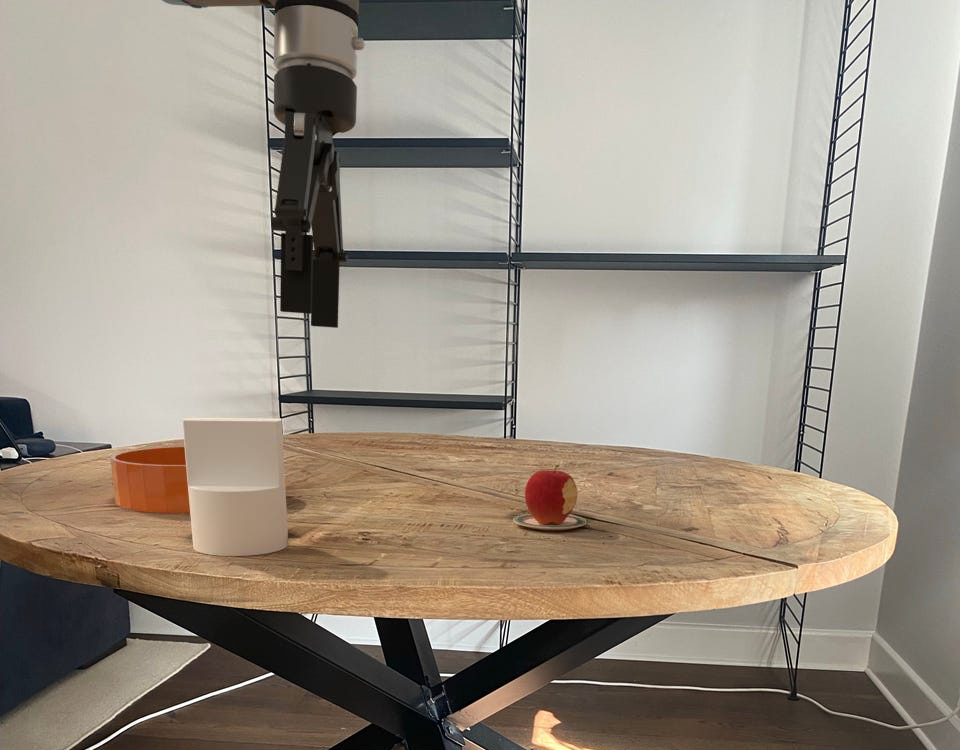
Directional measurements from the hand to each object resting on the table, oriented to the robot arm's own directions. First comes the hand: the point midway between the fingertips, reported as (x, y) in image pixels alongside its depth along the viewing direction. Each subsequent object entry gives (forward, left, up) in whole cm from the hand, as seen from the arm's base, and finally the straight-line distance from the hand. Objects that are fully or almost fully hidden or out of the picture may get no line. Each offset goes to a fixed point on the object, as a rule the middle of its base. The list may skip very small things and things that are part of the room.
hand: (311, 320), depth 88 cm
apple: (+23, +10, -21) cm, 33 cm away
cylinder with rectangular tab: (-5, -8, -21) cm, 23 cm away
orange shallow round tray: (-19, +10, -21) cm, 30 cm away
